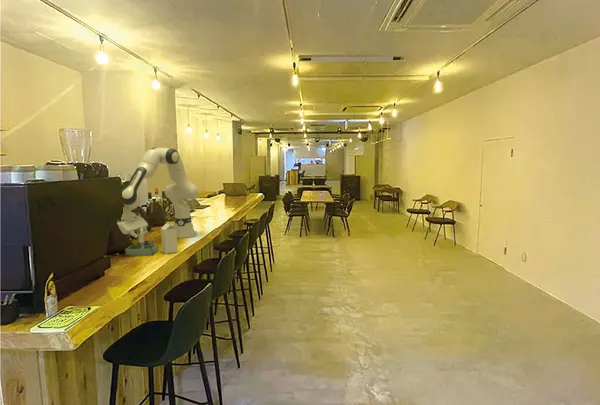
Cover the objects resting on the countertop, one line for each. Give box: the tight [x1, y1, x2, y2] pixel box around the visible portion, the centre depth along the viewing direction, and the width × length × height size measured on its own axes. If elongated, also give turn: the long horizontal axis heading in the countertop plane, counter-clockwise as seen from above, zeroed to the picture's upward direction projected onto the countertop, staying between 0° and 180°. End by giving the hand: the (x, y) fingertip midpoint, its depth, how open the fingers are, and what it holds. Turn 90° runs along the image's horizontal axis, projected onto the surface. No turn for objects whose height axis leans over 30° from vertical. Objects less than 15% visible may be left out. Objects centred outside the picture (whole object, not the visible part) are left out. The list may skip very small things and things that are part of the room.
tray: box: [124, 244, 159, 257], centre depth 227 cm, size 11×16×4 cm
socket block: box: [137, 240, 154, 245], centre depth 237 cm, size 7×7×5 cm
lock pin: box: [138, 227, 146, 249], centre depth 227 cm, size 3×3×15 cm
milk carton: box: [160, 221, 178, 255], centre depth 230 cm, size 7×7×19 cm
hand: (142, 235), depth 226 cm, fingers open, 8 cm apart
